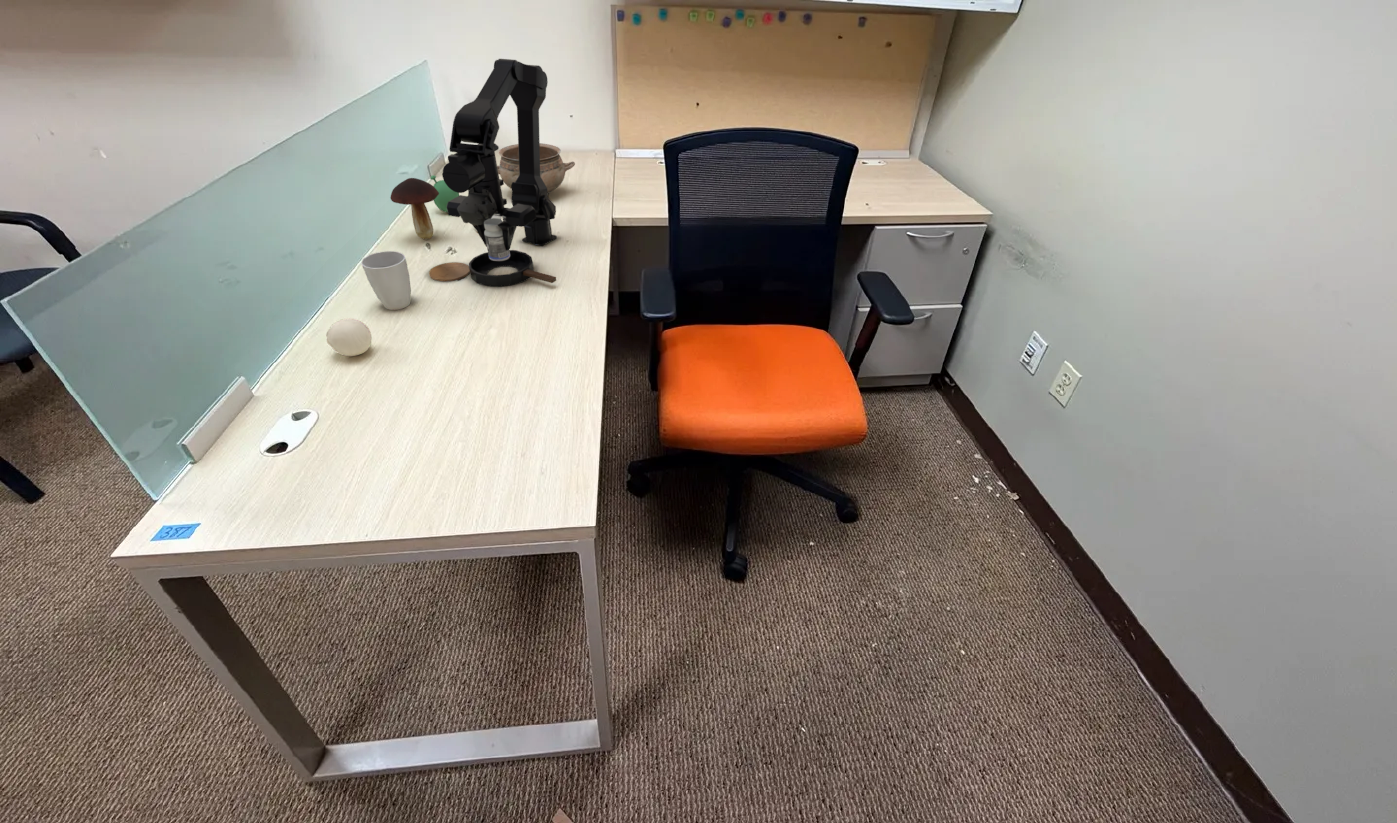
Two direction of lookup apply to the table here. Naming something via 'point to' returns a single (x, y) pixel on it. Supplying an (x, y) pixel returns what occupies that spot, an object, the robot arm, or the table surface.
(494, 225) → the pill bottle
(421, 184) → the decorative mushroom
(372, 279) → the cup
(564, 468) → the table surface
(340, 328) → the cream oval shape
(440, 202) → the alien toy
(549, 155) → the cooking pot
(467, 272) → the disc
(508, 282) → the pan
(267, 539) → the table surface
